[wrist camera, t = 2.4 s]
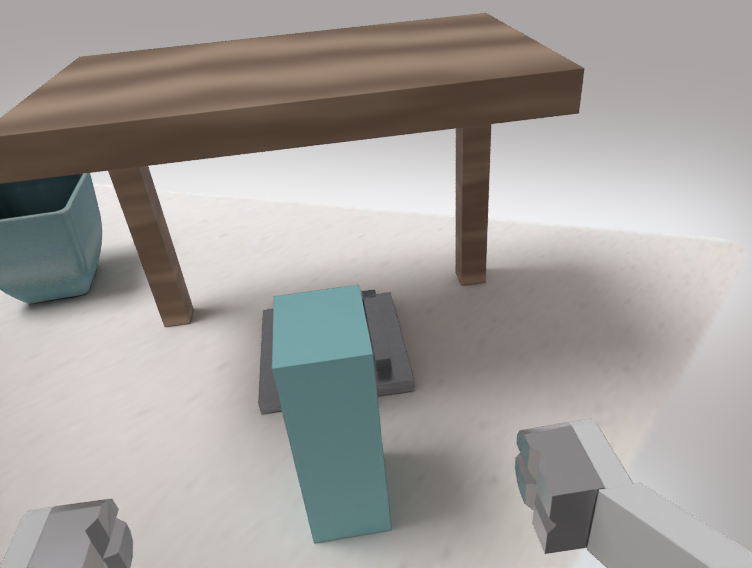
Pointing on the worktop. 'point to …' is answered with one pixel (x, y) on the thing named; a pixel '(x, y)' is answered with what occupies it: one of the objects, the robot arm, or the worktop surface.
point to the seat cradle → (384, 343)
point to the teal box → (331, 410)
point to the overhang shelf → (285, 114)
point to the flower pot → (49, 237)
